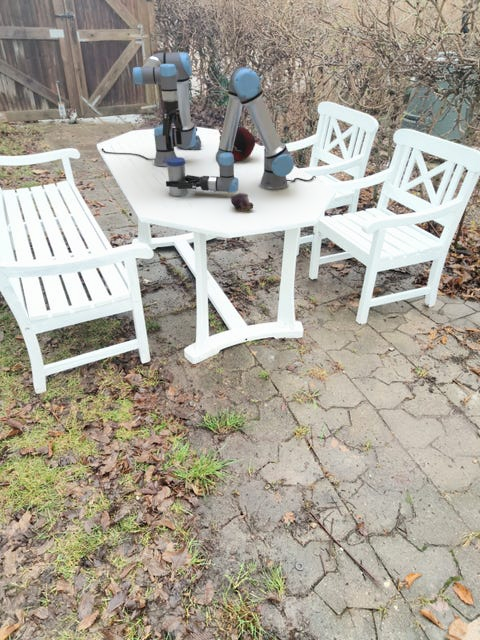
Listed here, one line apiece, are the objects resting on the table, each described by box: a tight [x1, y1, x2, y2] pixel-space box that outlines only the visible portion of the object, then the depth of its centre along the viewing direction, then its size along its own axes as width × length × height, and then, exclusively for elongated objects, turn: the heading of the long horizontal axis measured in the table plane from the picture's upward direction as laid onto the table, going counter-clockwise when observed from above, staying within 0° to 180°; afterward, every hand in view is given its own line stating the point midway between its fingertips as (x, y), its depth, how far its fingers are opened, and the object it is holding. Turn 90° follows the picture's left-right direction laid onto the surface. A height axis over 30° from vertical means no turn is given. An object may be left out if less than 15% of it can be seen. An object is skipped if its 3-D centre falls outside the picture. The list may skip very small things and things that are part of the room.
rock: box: [230, 192, 254, 211], centre depth 223 cm, size 12×9×10 cm
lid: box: [166, 156, 186, 166], centre depth 236 cm, size 10×10×2 cm
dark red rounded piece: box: [218, 126, 257, 162], centre depth 296 cm, size 21×24×25 cm
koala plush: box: [178, 120, 202, 151], centre depth 323 cm, size 17×18×20 cm
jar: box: [166, 163, 188, 197], centre depth 241 cm, size 9×9×18 cm
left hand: (174, 146), depth 232 cm, fingers open, 11 cm apart
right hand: (169, 180), depth 243 cm, fingers closed on jar, 9 cm apart
